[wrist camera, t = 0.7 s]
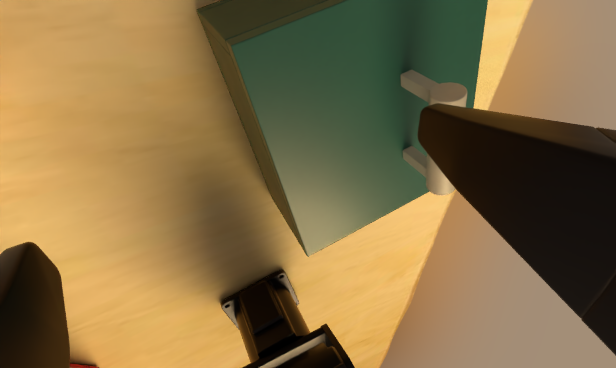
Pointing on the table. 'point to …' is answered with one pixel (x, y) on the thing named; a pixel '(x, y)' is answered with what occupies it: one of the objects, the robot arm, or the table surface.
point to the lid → (356, 103)
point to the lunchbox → (220, 27)
